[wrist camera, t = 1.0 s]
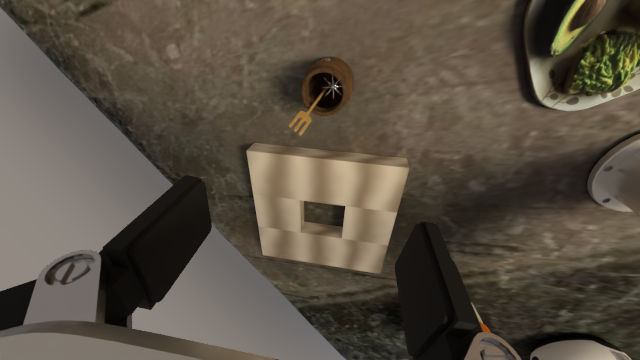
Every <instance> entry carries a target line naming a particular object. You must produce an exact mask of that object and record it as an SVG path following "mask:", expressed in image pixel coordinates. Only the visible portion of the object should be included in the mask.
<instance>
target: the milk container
mask: <svg viewBox="0 0 640 360" xmlns="http://www.w3.org/2000/svg"><path fill="white" fill-rule="evenodd" d="M530 360H631V359H630V358H629V357H628V356H627V355H626V354H625V353H624V352H623V351H622V350H620V349H619V348H617V347H615V346H614V345H612V344H610V343H607V342H604V341H600V340H597V339H592V338H582V337H573V338H560V339H555V340H550V341H547V342H545V343H542V344H540V345H538V346H537V347H536V348H535V349H533V350H532V352H531V354H530Z"/></svg>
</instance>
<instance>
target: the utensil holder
mask: <svg viewBox="0 0 640 360" xmlns="http://www.w3.org/2000/svg"><path fill="white" fill-rule="evenodd" d="M353 84H354V79H353V74H352V71H351V69H350V67H349V66H348V65H347V64H346V63H345V62H344V61H343V60H341V59H339V58H335V57H327V58H323V59H321V60H319V61H317V62H316V63H315V64H313V65H312V66H311V67H310V68H309V69H308V71H307V72H306V74H305V77H304V80H303V83H302V88H301V95H302V99H303V102H304V104H305V105H306V107H307V108H308V109H309V110H308V111H307V112H303V111H300V112H299V113H298V114H297V116H296V117H295V118H294V119H293V121H292V122H291V123H290V124H289V127H290V128H291V127H292V126H293V124H294V123H295V122H296V121H297V119H298V118H300V119H301V120H300V122H299V123H298V124H297V126H296V127H295V128H294V132H296V131H297V130H298V128H299V127H300V126H301V124H302V123H303V122H305V125H304V127H303V128H302V129H301V131H300V132H299V136H301V135H302V133H303V132H304V131H305V129H306V128H307V126H308V125H309V123H310V122H311V118H310V116H309V113H310V112H313V113H315V114H317V115H320V116H329V115H333V114H335V113H336V112H338V111H339V110H340V109H341V108H343V107H344V106H345V105H346V104H347V102H348V101H349V99H350V97H351V94H352V90H353Z"/></svg>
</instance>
